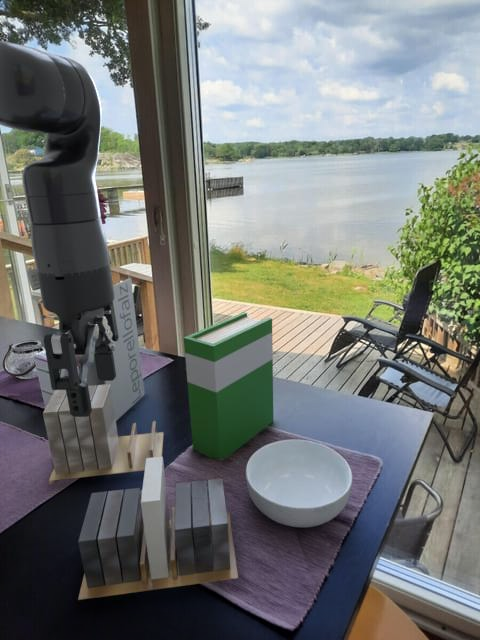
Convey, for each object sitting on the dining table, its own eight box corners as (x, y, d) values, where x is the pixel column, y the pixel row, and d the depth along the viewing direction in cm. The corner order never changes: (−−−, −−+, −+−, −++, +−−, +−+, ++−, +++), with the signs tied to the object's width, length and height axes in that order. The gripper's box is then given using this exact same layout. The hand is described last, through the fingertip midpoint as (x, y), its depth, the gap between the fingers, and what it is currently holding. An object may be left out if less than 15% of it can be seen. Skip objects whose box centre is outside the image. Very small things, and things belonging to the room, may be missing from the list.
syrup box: (59, 415, 103) (48, 358, 98) (44, 408, 106) (32, 353, 101) (79, 404, 107) (70, 349, 102) (64, 398, 110) (54, 344, 106)
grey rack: (79, 605, 57) (67, 552, 55) (95, 533, 69) (87, 486, 66) (238, 583, 60) (236, 531, 57) (229, 517, 71) (227, 471, 68)
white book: (151, 579, 60) (140, 502, 55) (155, 528, 68) (146, 458, 64) (169, 577, 60) (159, 500, 55) (170, 526, 68) (162, 456, 64)
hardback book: (247, 410, 102) (243, 312, 94) (273, 421, 97) (272, 318, 89) (193, 448, 89) (183, 337, 81) (220, 462, 84) (213, 346, 76)
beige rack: (49, 485, 80) (35, 417, 75) (66, 445, 91) (54, 385, 86) (161, 472, 82) (153, 406, 77) (163, 436, 93) (157, 376, 89)
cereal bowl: (244, 544, 66) (243, 506, 63) (248, 471, 81) (247, 438, 79) (360, 546, 65) (362, 507, 62) (341, 471, 80) (342, 438, 78)
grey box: (112, 424, 98) (92, 295, 88) (91, 421, 100) (69, 293, 90) (144, 394, 111) (131, 278, 101) (125, 391, 112) (110, 277, 102)
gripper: (67, 251, 54) (87, 370, 60) (3, 280, 41) (36, 430, 46) (127, 250, 54) (141, 369, 59) (81, 278, 41) (106, 429, 46)
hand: (95, 396), depth 53 cm, fingers open, 8 cm apart
